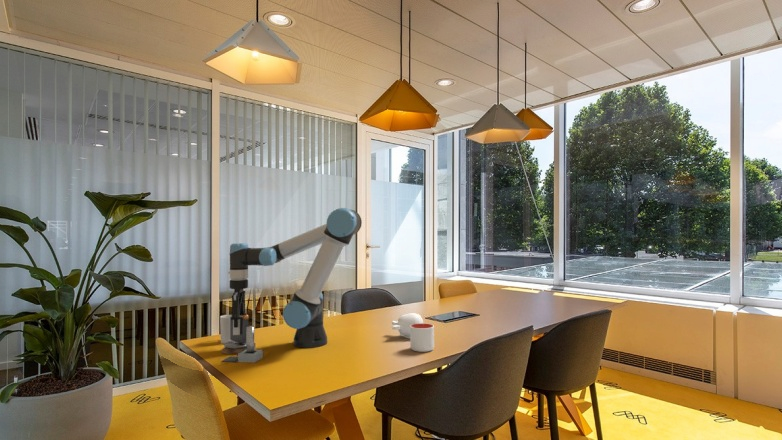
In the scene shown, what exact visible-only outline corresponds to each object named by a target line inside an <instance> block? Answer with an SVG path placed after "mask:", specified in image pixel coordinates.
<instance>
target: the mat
mask: <svg viewBox="0 0 782 440" xmlns="http://www.w3.org/2000/svg"><path fill="white" fill-rule="evenodd" d="M221 363H238V356H234V355H233V356H232V355H231V356H228V357H226V358H224V359H223V360H221Z"/></svg>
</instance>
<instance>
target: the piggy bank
mask: <svg viewBox="0 0 782 440" xmlns="http://www.w3.org/2000/svg"><path fill="white" fill-rule="evenodd" d="M420 323H424V320H423V318H422V316H421V315H420V314H418V313H415V312H412V313H411V312H410V313H405V314H403V315H401V316H399V318H398V319H397V321H396V320H391V324H392V327H391V328H392V330H394V331H395V330H398V332H399V336H400V337H403V338H406V339H410V326H411V325H413V324H420Z"/></svg>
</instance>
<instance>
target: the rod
mask: <svg viewBox="0 0 782 440" xmlns="http://www.w3.org/2000/svg"><path fill="white" fill-rule="evenodd" d="M254 343H255V326H253V325H248V326H247V327H246V347H247V353H249V354H253V353H254V350H255V348H254Z"/></svg>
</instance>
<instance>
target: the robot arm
mask: <svg viewBox="0 0 782 440" xmlns="http://www.w3.org/2000/svg"><path fill="white" fill-rule="evenodd" d="M326 218H327V219H326V223H325V224H323V225H320V226H317V227H316V228H313V229H311V230H308V231H306V232H304V233H301V234H298V235H296V236H294V237H291V238H289V239H287V240H283V241H281V242H279V243H277V244H274V245H272V246H270V247H269V246H268V247H249V244H248V243H243V242H242V243H239V242H238V243H231V244H230V246H229V271H228V274H229V279H230V280H229V289H231V290H234V291H233V294H232V295H231V315H232V317H231V320H233V335H240V319H239V317H243V315H247V312H246V290H244V289H248V288H249V280H248V278H249V266H263V267H268V266H269V267H270V266H273V265H275V264H277V263H281V262H282V261H283V260H285V259H288V258H290V257H292V256H295V255H298V254H300V253H302V252H305V251H307V250H309V249H310V250H311V249H312V248H315V247H317V246H320V248H319V249H318V252H317V254H316V256H315V258H314V260H313V262H312V264H311V266H310V269H309V270H308V272H307V275H306V276H305V278H304V281H303V282H302V285H301V287H300V289H296V290H295V291H294V293H293V296H292V297H291V300H290V301H289V302H288V303H286V305H285V306H284V308H283V311H282V318H283V321H284V323H285V324H286V325H287V326H288V327H289V328H291V329H295V333H294V337H293V344H292V345H293V346H294V347H297V348H298V347H299V348H306V349H308V348H316V347H317V348H318V347H322V346H325V345H327V344H328V336H327V333H326V330H325V326H324V294H323V293H322V292H323V290H324V288H325V286H326V284H327V282H328V280H329V278H330V276H331V274H332V272H333V269H334V267H335V265H336V263H337V261H338V259H339V257H340V255H341V254H342V253H341V252H342V251H343V249H344V247H346V246H349V244H350V243H351V240H352V239H353V236H354V235H356V234H357V233H359V231H360V230H361V228H362V223H363V222H362V221H363V220H362V217H361V215H360V214H359V213H358V212H357V211H355V210H353V209H349V208H346V207H340V208H336V209H335V210H333V211H331V212H330V213H329V215H328V216H327V217H326Z"/></svg>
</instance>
